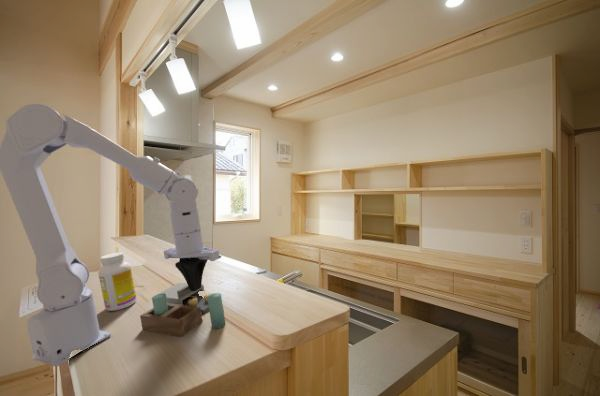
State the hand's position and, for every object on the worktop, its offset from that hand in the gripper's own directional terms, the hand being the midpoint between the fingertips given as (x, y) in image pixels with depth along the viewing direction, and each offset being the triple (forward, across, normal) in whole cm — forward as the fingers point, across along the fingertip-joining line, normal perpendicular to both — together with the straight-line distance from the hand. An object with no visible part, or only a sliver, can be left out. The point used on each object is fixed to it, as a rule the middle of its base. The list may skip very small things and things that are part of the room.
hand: (195, 289), depth 65 cm
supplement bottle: (+4, +21, +4) cm, 22 cm away
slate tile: (+4, -1, 0) cm, 4 cm away
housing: (+4, +5, 0) cm, 7 cm away
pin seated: (+4, +2, +8) cm, 9 cm away
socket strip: (+4, -1, +8) cm, 9 cm away
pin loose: (+4, -10, +6) cm, 13 cm away
